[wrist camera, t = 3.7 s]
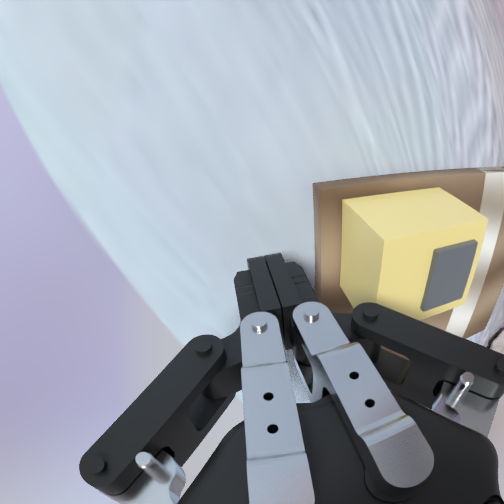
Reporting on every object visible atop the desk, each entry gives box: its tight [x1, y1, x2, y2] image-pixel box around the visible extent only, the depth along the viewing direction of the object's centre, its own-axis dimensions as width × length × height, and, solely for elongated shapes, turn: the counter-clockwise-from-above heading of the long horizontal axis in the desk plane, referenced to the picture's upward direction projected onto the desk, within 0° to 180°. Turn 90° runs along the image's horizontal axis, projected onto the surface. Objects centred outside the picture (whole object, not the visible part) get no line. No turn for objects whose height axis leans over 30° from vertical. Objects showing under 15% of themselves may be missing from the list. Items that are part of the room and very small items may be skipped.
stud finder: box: [340, 187, 488, 321], centre depth 14 cm, size 5×7×4 cm
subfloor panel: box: [313, 167, 504, 360], centre depth 19 cm, size 16×18×1 cm
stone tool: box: [489, 330, 504, 354], centre depth 29 cm, size 8×3×15 cm
